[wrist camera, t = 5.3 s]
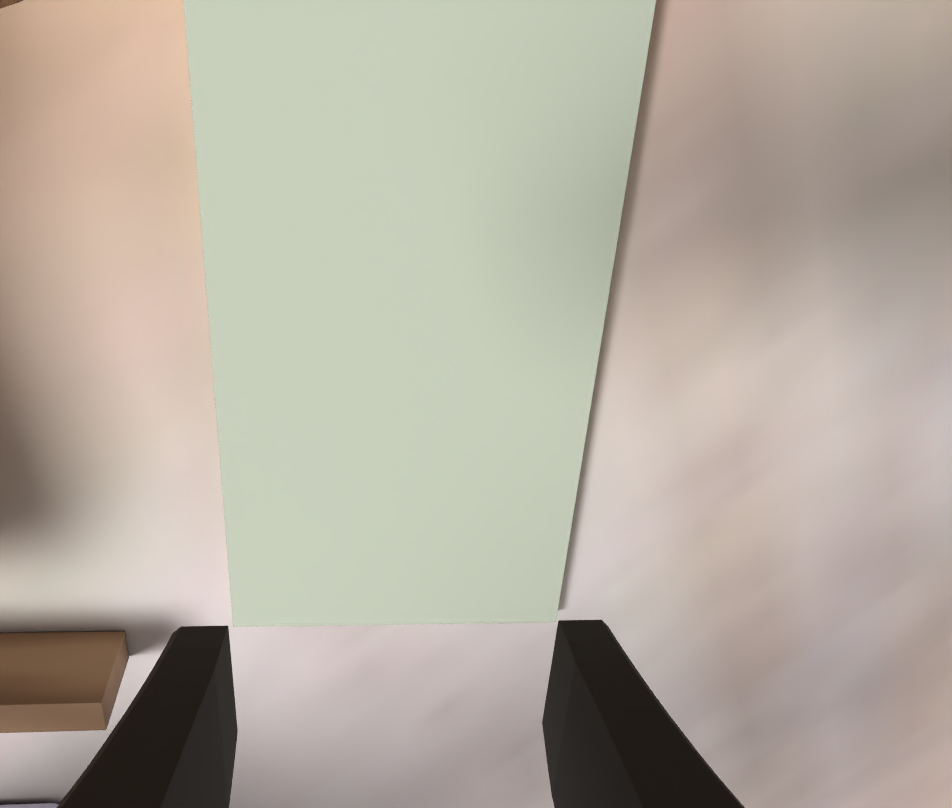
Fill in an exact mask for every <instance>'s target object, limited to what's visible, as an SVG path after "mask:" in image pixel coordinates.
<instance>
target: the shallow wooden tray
mask: <svg viewBox="0 0 952 808" xmlns="http://www.w3.org/2000/svg"><path fill="white" fill-rule="evenodd" d="M21 1H23V0H0V8H3V7H6V6H9V5H12V4H15V3H18V2H21ZM128 659H129V656H128V649H127V643H126V637H125V631H120V632H51V633H0V733H14V732H51V731H87V730H106V729H107V726H108V722H109V719H110V716H111V713H112V710H113V706H114V703H115V700H116V697H117V694H118V691H119V687H120V684H121V681H122V678H123V675H124V671H125V668H126V665H127V662H128Z"/></svg>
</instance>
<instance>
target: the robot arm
mask: <svg viewBox="0 0 952 808" xmlns="http://www.w3.org/2000/svg"><path fill="white" fill-rule="evenodd" d="M542 724H543V732H544V740H545V748H546V756H547V764H548V771H549V778H550V785H551V792H552V798H553V802H554V806H555V808H745V807H744V806H743V805H742V804H741V803H740V802H739V801H738V799H737V798H736V797H735V796H734V795H733V794H732V793H731V791H730V790H729V789H728V788H727V787H726V786H725V784H724V783H723V782H722V781H721V780H720V779H719V777H718V776H717V775H716V774H715V773H714V771H713V770H712V769H711V768H710V766H709V765H708V764H707V763H706V762H705V760H704V759H703V758H702V757H701V755H700V754H699V753H698V752H697V750H696V749H695V748H694V747H693V745H692V744H691V743H690V741H689V740H688V739H687V737H686V736H685V735H684V734H683V732H682V731H681V730H680V728H679V727H678V726H677V725H676V723H675V722H674V721H673V719H672V718H671V717H670V715H669V714H668V713H667V711H666V710H665V709H664V707H663V706H662V705H661V703H660V702H659V701H658V699H657V698H656V696H655V695H654V694H653V692H652V691H651V689H650V688H649V686H648V685H647V684H646V682H645V681H644V679H643V678H642V677H641V675H640V674H639V672H638V671H637V669H636V668H635V666H634V665H633V664H632V662H631V661H630V659H629V658H628V656H627V655H626V653H625V652H624V650H623V649H622V647H621V646H620V644H619V643H618V641H617V640H616V638H615V636H614V635H613V633H612V632H611V630H610V629H609V627H608V626H607V625H606V624H605V623H604V622H603V621H602V620H564V621H558V627H557V633H556V640H555V646H554V652H553V659H552V665H551V671H550V677H549V684H548V690H547V696H546V703H545V709H544V715H543V721H542ZM236 741H237V721H236V709H235V698H234V687H233V675H232V664H231V653H230V641H229V630H228V626H188V627H180V628H179V629H177V630H176V631H175V632H174V633H173V634H172V636H171V638H170V639H169V641H168V643H167V645H166V647H165V649H164V650H163V652H162V654H161V656H160V657H159V659H158V661H157V663H156V664H155V666H154V668H153V669H152V671H151V673H150V674H149V676H148V678H147V679H146V681H145V683H144V684H143V686H142V687H141V689H140V690H139V692H138V694H137V695H136V697H135V698H134V700H133V701H132V703H131V704H130V706H129V708H128V709H127V711H126V712H125V714H124V715H123V717H122V718H121V720H120V721H119V723H118V724H117V725H116V727H115V728H114V730H113V731H112V733H111V734H110V736H109V737H108V738H107V740H106V741H105V743H104V744H103V746H102V747H101V749H100V750H99V751H98V753H97V754H96V756H95V757H94V759H93V760H92V761H91V763H90V764H89V766H88V767H87V768H86V770H85V771H84V772H83V774H82V775H81V776H80V778H79V779H78V780H77V782H76V783H75V784H74V786H73V787H72V788H71V789H70V791H69V792H68V793H67V795H66V796H65V797H64V799H63V800H62V801H61V802H60V804H55V803H40V804H13V805H0V808H229V802H230V794H231V785H232V777H233V768H234V759H235V750H236Z"/></svg>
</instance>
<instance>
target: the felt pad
mask: <svg viewBox="0 0 952 808" xmlns="http://www.w3.org/2000/svg"><path fill="white" fill-rule="evenodd" d="M183 1H184V14H185V26H186V39H187V52H188V64H189V77H190V89H191V102H192V115H193V127H194V140H195V153H196V165H197V178H198V190H199V203H200V216H201V228H202V241H203V253H204V266H205V279H206V291H207V304H208V317H209V329H210V342H211V354H212V367H213V380H214V392H215V405H216V418H217V430H218V443H219V455H220V468H221V481H222V493H223V506H224V518H225V531H226V544H227V556H228V569H229V582H230V594H231V607H232V619H233V627H253V626H323V625H393V624H464V623H534V622H556V619H557V612H558V606H559V600H560V594H561V588H562V581H563V575H564V569H565V563H566V557H567V550H568V544H569V538H570V532H571V526H572V519H573V513H574V507H575V501H576V495H577V488H578V482H579V476H580V470H581V464H582V457H583V451H584V445H585V439H586V432H587V426H588V420H589V414H590V408H591V401H592V395H593V389H594V383H595V377H596V370H597V364H598V358H599V352H600V346H601V339H602V333H603V327H604V321H605V315H606V308H607V302H608V296H609V290H610V284H611V277H612V271H613V265H614V259H615V253H616V246H617V240H618V234H619V228H620V222H621V215H622V209H623V203H624V197H625V191H626V184H627V178H628V172H629V166H630V160H631V153H632V147H633V141H634V135H635V129H636V122H637V116H638V110H639V104H640V98H641V91H642V85H643V79H644V73H645V67H646V60H647V54H648V48H649V42H650V35H651V29H652V23H653V17H654V11H655V4H656V0H183Z"/></svg>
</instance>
